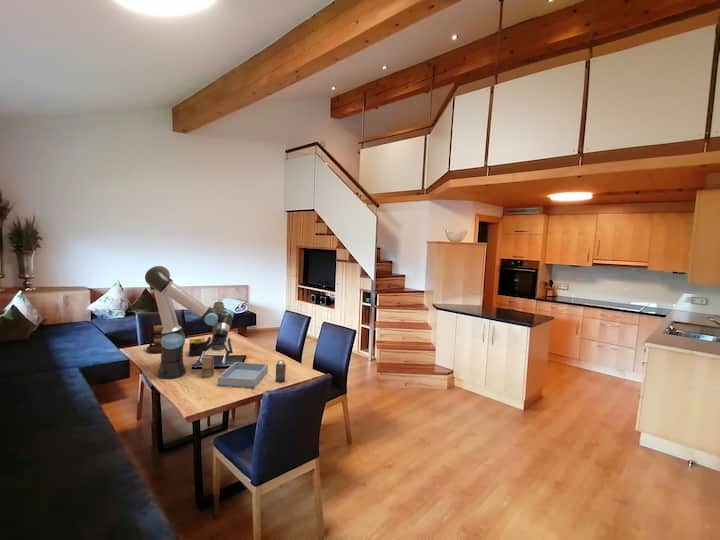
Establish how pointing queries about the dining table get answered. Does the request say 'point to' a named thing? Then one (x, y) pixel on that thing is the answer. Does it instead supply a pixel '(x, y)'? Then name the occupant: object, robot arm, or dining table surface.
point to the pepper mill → (280, 371)
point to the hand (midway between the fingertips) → (212, 362)
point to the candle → (195, 347)
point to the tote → (243, 375)
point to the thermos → (219, 307)
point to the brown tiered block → (155, 338)
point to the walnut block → (207, 366)
